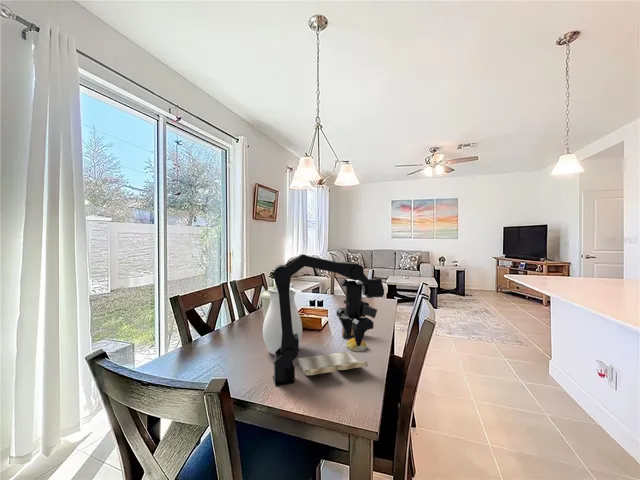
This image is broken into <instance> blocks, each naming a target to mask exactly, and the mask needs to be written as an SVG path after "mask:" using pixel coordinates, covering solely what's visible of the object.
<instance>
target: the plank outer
mask: <svg viewBox="0 0 640 480" xmlns="http://www.w3.org/2000/svg"><path fill="white" fill-rule="evenodd" d="M362 367H363V368H364V367H368V361H367V360H365V361H358V362H356V363H350V364H343V365H337V366H336V371H345V370H352V369H357V368H362Z"/></svg>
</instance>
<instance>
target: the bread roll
mask: <svg viewBox="0 0 640 480" xmlns="http://www.w3.org/2000/svg"><path fill="white" fill-rule="evenodd" d="M346 348H347V349H348V350H350V351H352V352H363V351H365V350H366V349H367V344H366V342H364V341H363V340H362V342H361V345H360V346H357V344H356V341H355V338H354V337H353V338H349V340H348V341H347V342H346Z"/></svg>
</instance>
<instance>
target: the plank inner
mask: <svg viewBox="0 0 640 480" xmlns="http://www.w3.org/2000/svg"><path fill="white" fill-rule="evenodd" d="M334 372H337V369H336V367H335V366H333V367H324V368H318V369H312V370H305V374H304V375H305V376H315V375H321V374H327V373H334Z"/></svg>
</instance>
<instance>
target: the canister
mask: <svg viewBox="0 0 640 480" xmlns="http://www.w3.org/2000/svg"><path fill="white" fill-rule="evenodd" d="M276 288H277V287H276V285H275V286H273V287H272V289H270V290H271V291H273V290H275V289H276ZM259 297H261V299H260V300H261V304H262V306H261V307H262V314H263V320H264V319H265V316H266V314H267V311H268V308H269V305H270V294H269V293H268V291H267V290H264V291H263V292H262V293H260V295H259Z"/></svg>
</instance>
